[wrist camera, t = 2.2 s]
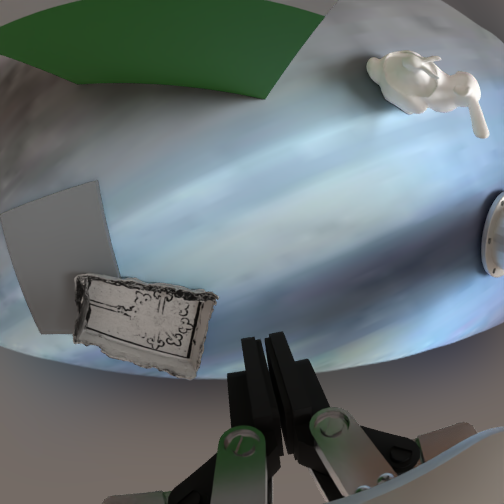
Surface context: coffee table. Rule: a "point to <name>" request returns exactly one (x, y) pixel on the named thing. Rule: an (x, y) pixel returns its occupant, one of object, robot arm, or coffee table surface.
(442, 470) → the robot arm
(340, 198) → the coffee table surface
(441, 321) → the coffee table surface
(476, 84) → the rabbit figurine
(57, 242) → the mat
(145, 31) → the hardback book
